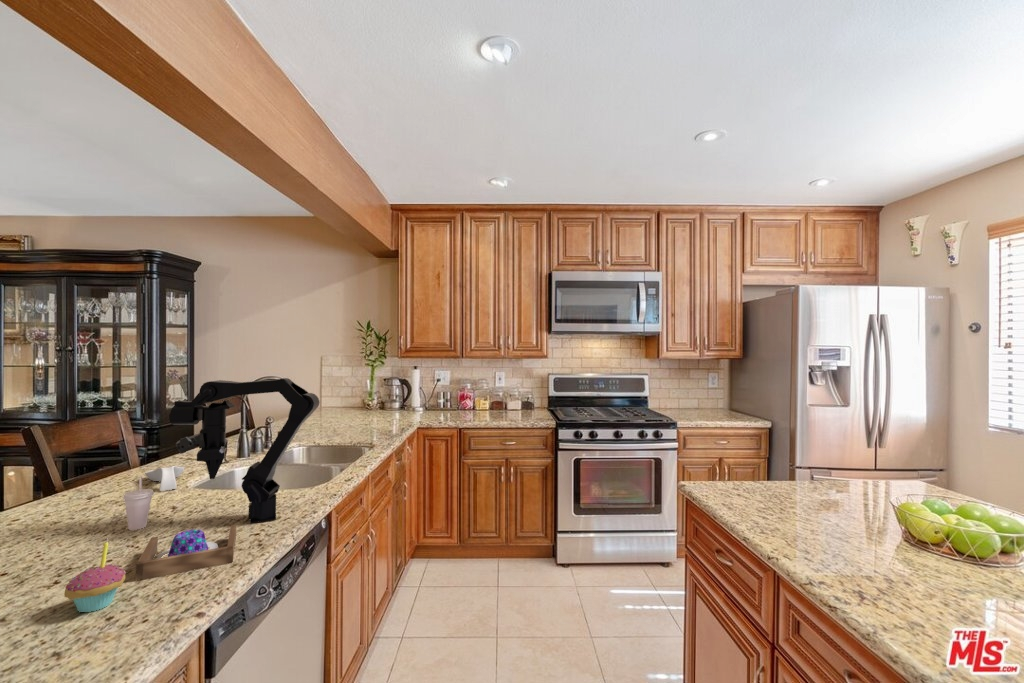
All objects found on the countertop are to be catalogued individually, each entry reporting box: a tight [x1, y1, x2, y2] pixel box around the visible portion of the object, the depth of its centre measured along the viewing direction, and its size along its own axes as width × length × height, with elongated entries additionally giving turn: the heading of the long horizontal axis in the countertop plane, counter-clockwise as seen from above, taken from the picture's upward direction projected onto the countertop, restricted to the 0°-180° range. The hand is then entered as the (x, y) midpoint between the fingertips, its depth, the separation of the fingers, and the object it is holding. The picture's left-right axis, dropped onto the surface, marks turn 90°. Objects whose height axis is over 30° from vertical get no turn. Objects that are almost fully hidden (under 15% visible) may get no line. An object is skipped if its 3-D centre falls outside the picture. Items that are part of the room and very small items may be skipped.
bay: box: [134, 524, 237, 581], centre depth 104 cm, size 17×15×4 cm
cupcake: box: [64, 537, 126, 613], centre depth 84 cm, size 9×8×12 cm
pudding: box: [155, 529, 219, 559], centre depth 105 cm, size 12×12×5 cm
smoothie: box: [122, 476, 154, 531], centre depth 120 cm, size 6×6×14 cm
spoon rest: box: [144, 465, 185, 492], centre depth 160 cm, size 24×12×7 cm, turn 42°
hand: (212, 478), depth 126 cm, fingers closed
